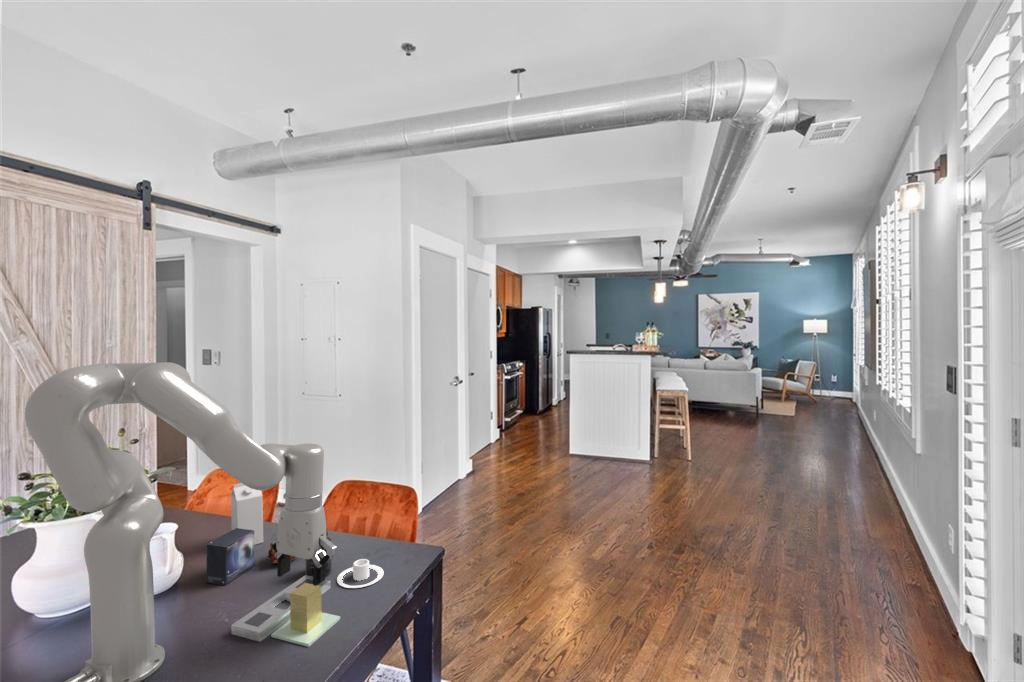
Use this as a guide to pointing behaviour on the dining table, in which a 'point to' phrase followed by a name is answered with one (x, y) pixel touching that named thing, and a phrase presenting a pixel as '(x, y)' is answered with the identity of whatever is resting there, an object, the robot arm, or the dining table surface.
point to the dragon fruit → (272, 555)
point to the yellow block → (305, 607)
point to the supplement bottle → (310, 565)
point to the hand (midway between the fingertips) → (301, 578)
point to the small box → (230, 556)
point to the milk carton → (247, 510)
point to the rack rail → (270, 613)
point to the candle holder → (360, 573)
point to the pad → (305, 638)
